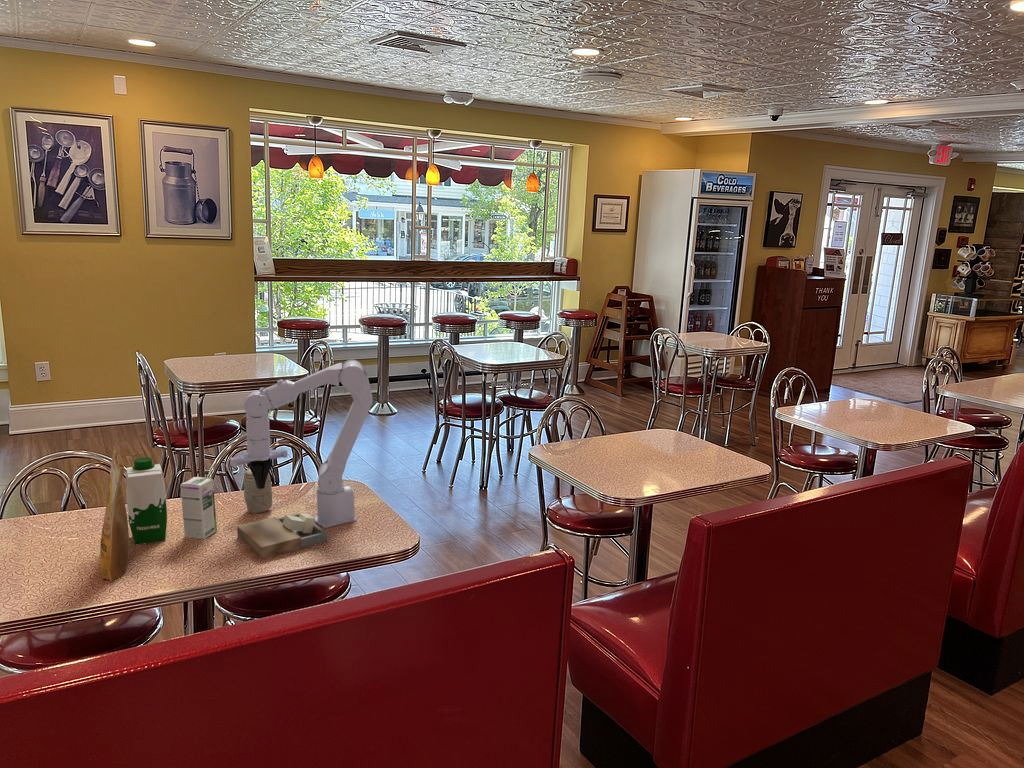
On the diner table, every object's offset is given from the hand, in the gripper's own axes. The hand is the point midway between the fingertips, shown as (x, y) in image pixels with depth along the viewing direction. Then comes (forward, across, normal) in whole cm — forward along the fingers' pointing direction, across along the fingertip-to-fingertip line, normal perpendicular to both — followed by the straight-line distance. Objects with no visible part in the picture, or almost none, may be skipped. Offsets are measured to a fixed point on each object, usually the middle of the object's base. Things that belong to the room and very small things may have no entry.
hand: (260, 487), depth 203 cm
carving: (+11, +3, +10) cm, 15 cm away
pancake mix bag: (+11, -36, -5) cm, 38 cm away
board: (+10, -3, -12) cm, 16 cm away
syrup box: (+11, -15, +3) cm, 19 cm away
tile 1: (+8, +3, -12) cm, 15 cm away
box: (+10, +6, -12) cm, 17 cm away
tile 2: (+7, +6, -12) cm, 15 cm away
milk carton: (+11, -26, +8) cm, 29 cm away
